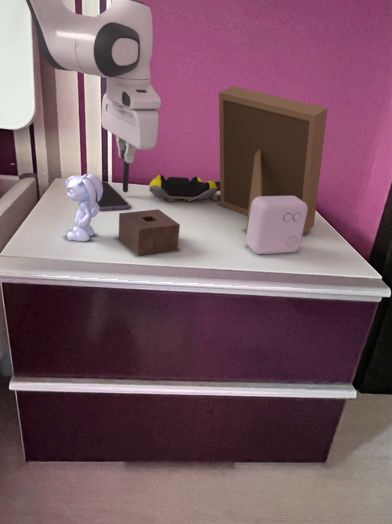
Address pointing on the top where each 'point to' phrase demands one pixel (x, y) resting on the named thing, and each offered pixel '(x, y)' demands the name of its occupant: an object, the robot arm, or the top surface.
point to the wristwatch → (217, 197)
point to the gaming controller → (182, 188)
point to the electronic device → (276, 224)
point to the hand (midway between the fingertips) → (126, 160)
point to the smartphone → (110, 199)
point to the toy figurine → (84, 203)
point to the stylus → (125, 172)
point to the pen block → (148, 232)
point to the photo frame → (269, 149)
